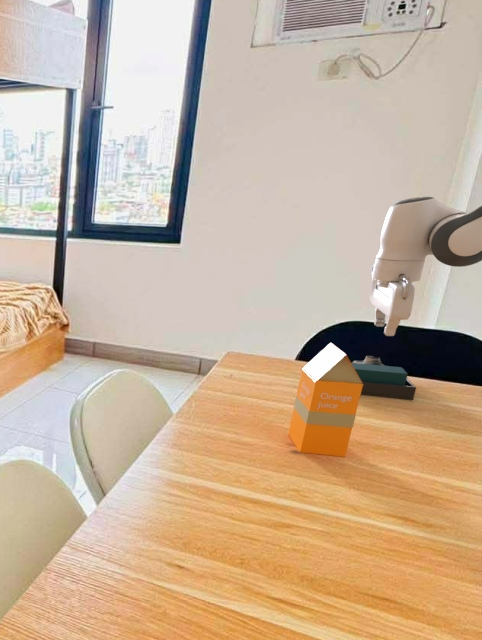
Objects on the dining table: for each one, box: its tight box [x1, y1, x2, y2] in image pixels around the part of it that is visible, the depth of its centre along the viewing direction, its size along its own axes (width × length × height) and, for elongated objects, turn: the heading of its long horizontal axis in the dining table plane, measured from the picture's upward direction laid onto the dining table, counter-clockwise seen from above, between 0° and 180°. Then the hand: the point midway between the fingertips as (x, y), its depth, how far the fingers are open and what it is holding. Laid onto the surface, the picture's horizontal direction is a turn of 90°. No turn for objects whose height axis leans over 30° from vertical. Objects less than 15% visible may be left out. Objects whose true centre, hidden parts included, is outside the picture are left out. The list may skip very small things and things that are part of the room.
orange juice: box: [287, 342, 363, 458], centre depth 120 cm, size 8×9×20 cm
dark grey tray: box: [360, 377, 417, 401], centre depth 152 cm, size 16×10×3 cm, turn 65°
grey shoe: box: [351, 355, 386, 366], centre depth 163 cm, size 5×10×4 cm, turn 2°
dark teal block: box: [351, 362, 409, 386], centre depth 151 cm, size 12×6×5 cm, turn 65°
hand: (383, 330), depth 147 cm, fingers open, 8 cm apart
